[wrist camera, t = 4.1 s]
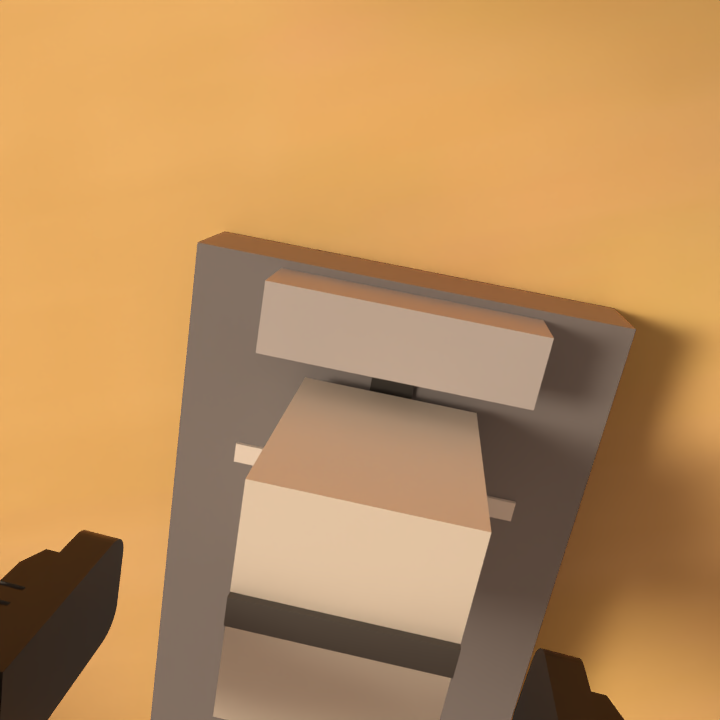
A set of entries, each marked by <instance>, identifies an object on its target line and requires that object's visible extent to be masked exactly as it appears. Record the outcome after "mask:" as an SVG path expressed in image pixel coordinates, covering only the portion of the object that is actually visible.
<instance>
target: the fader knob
mask: <svg viewBox="0 0 720 720" xmlns="http://www.w3.org/2000/svg"><path fill="white" fill-rule="evenodd" d="M490 536H491V525H490V517H489V509H488V501H487V493H486V485H485V477H484V469H483V461H482V453H481V445H480V437H479V429H478V421H477V413H474V412H469V411H465V410H460V409H455V408H450V407H445V406H441V405H436V404H431V403H426V402H421V401H417V400H412V399H407V398H402V397H397V396H392V395H388V394H383V393H378V392H373V391H368V390H364V389H359V388H354V387H349V386H344V385H340V384H335V383H330V382H325V381H320V380H316V379H311V378H306V377H305V379H304V380H303V382H302V384H301V385H300V387H299V389H298V390H297V392H296V394H295V396H294V397H293V399H292V401H291V402H290V404H289V406H288V407H287V409H286V411H285V413H284V414H283V416H282V418H281V419H280V421H279V423H278V424H277V426H276V428H275V429H274V431H273V433H272V435H271V436H270V438H269V440H268V441H267V443H266V445H265V446H264V448H263V450H262V452H261V453H260V455H259V457H258V458H257V460H256V462H255V463H254V465H253V467H252V469H251V470H250V472H249V474H248V475H247V477H246V479H245V485H244V493H243V500H242V507H241V515H240V522H239V529H238V537H237V544H236V551H235V559H234V566H233V573H232V580H231V588H230V593H229V595H228V597H227V603H226V611H225V618H224V626H225V632H224V639H223V646H222V654H221V661H220V668H219V676H218V683H217V690H216V698H215V705H214V712H213V717H217V718H221V719H225V720H440V716H441V713H442V709H443V706H444V702H445V698H446V695H447V691H448V688H449V684H450V680H451V678H452V679H453V677H454V673H455V669H456V666H457V662H458V659H459V655H460V651H461V641H462V637H463V633H464V630H465V626H466V623H467V619H468V615H469V612H470V608H471V604H472V601H473V597H474V594H475V590H476V586H477V583H478V579H479V576H480V572H481V568H482V565H483V561H484V558H485V554H486V550H487V547H488V543H489V539H490Z"/></svg>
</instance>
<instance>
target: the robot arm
mask: <svg viewBox="0 0 720 720" xmlns="http://www.w3.org/2000/svg"><path fill="white" fill-rule="evenodd" d="M122 557H123V542H122V540H121V539H117V538H113V537H110V536H106V535H102V534H98V533H94V532H90V531H86V530H83V531H81V532H79V533H78V534H77V535H76V536H75V537H74V538H73V539H72V540H71V541H70V542H69V543H68V544H67V545H66V546H65V547H64V548H63V549H62V550H61V551H60V552H55V551H51V550H47V549H46V550H44V551H42V552H40V553H38V554H35V555H33V556H31V557H29V558H27V559H25V560H23V561H21V562H19V563H18V564H17V565H16V566H15V567H14V568H13V569H12V570H11V571H10V572H9V573H8V574H7V575H5V576H4V577H3V578H2V579H1V580H0V720H48V718H49V717H50V716H51V714H52V713H53V711H54V710H55V709H56V707H57V706H58V704H59V703H60V701H61V700H62V699H63V697H64V696H65V694H66V693H67V691H68V690H69V689H70V687H71V686H72V684H73V683H74V682H75V680H76V679H77V677H78V676H79V674H80V673H81V672H82V670H83V669H84V667H85V666H86V665H87V663H88V662H89V660H90V659H91V657H92V656H93V655H94V653H95V652H96V650H97V649H98V647H99V646H100V645H101V643H102V642H103V640H104V639H105V637H106V635H107V633H108V631H109V629H110V627H111V624H112V621H113V618H114V615H115V611H116V607H117V599H118V591H119V582H120V574H121V565H122ZM512 720H624V719H623V717H622V716H621V715H620V713H619V712H618V711H617V709H616V708H615V706H614V705H613V704H612V702H611V701H610V700H609V698H608V697H607V696H606V695H602V694H598V693H595V692H591V690H590V686H589V682H588V679H587V675H586V671H585V668H584V665H583V662H582V660H581V659H580V658H576V657H572V656H568V655H565V654H561V653H557V652H553V651H549V650H545V649H541V648H540V649H538V650H537V651H536V653H535V655H534V658H533V660H532V663H531V666H530V669H529V672H528V674H527V677H526V680H525V683H524V686H523V689H522V691H521V694H520V697H519V700H518V703H517V705H516V708H515V711H514V715H513V719H512Z"/></svg>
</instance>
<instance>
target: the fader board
mask: <svg viewBox="0 0 720 720" xmlns="http://www.w3.org/2000/svg"><path fill="white" fill-rule="evenodd" d="M635 331H636V329H635V328H634V327H633V326H632V325H631V324H630V323H629V322H628V321H627V320H626V319H625V318H624V317H623V316H622V315H621V314H620V313H619V312H617V311H616V310H615V309H614V308H609V307H604V306H599V305H594V304H589V303H584V302H579V301H574V300H569V299H564V298H559V297H554V296H548V295H543V294H538V293H533V292H528V291H523V290H518V289H513V288H508V287H503V286H498V285H493V284H488V283H483V282H477V281H472V280H467V279H462V278H457V277H452V276H447V275H442V274H437V273H432V272H427V271H422V270H417V269H412V268H406V267H401V266H396V265H391V264H386V263H381V262H376V261H371V260H366V259H361V258H356V257H351V256H346V255H341V254H335V253H330V252H325V251H320V250H315V249H310V248H305V247H300V246H295V245H290V244H285V243H280V242H275V241H270V240H264V239H259V238H254V237H249V236H244V235H239V234H234V233H229V232H222V233H220V234H217V235H215V236H212V237H210V238H207V239H205V240H202V241H200V242H198V244H197V254H196V264H195V275H194V285H193V295H192V305H191V315H190V325H189V336H188V346H187V356H186V366H185V376H184V386H183V397H182V407H181V417H180V427H179V437H178V447H177V458H176V468H175V478H174V488H173V498H172V508H171V519H170V529H169V539H168V549H167V559H166V569H165V580H164V590H163V600H162V610H161V620H160V630H159V641H158V651H157V661H156V671H155V681H154V691H153V702H152V712H151V720H225V719H221V718H217V717H213V712H214V705H215V698H216V690H217V683H218V676H219V668H220V661H221V654H222V646H223V639H224V632H225V626H224V618H225V611H226V603H227V597H228V595H229V593H230V588H231V580H232V573H233V566H234V559H235V551H236V544H237V537H238V529H239V522H240V515H241V507H242V500H243V493H244V485H245V479H246V477H247V475H248V474H249V472H250V470H251V469H252V467H253V465H254V463H255V462H256V460H257V458H258V457H259V455H260V453H261V452H262V450H263V448H264V446H265V445H266V443H267V441H268V440H269V438H270V436H271V435H272V433H273V431H274V429H275V428H276V426H277V424H278V423H279V421H280V419H281V418H282V416H283V414H284V413H285V411H286V409H287V407H288V406H289V404H290V402H291V401H292V399H293V397H294V396H295V394H296V392H297V390H298V389H299V387H300V385H301V384H302V382H303V380H304V379H305V377H306V378H311V379H316V380H320V381H325V382H330V383H335V384H340V385H344V386H349V387H354V388H359V389H364V390H368V391H373V392H378V393H383V394H388V395H392V396H397V397H402V398H407V399H412V400H417V401H421V402H426V403H431V404H436V405H441V406H445V407H450V408H455V409H460V410H465V411H469V412H474V413H477V421H478V429H479V437H480V445H481V453H482V461H483V469H484V477H485V485H486V493H487V501H488V509H489V517H490V525H491V536H490V539H489V543H488V547H487V550H486V554H485V558H484V561H483V565H482V568H481V572H480V576H479V579H478V583H477V586H476V590H475V594H474V597H473V601H472V604H471V608H470V612H469V615H468V619H467V623H466V626H465V630H464V633H463V637H462V641H461V651H460V655H459V659H458V662H457V666H456V669H455V673H454V677H453V679H452V678H451V680H450V684H449V688H448V691H447V695H446V698H445V702H444V706H443V709H442V713H441V716H440V720H511V718H512V715H513V712H514V708H515V705H516V702H517V699H518V696H519V693H520V690H521V687H522V684H523V680H524V677H525V674H526V671H527V668H528V665H529V662H530V659H531V655H532V652H533V649H534V646H535V643H536V640H537V637H538V634H539V631H540V627H541V624H542V621H543V618H544V615H545V612H546V609H547V606H548V602H549V599H550V596H551V593H552V590H553V587H554V584H555V581H556V578H557V574H558V571H559V568H560V565H561V562H562V559H563V556H564V553H565V549H566V546H567V543H568V540H569V537H570V534H571V531H572V528H573V525H574V521H575V518H576V515H577V512H578V509H579V506H580V503H581V500H582V497H583V493H584V490H585V487H586V484H587V481H588V478H589V475H590V472H591V468H592V465H593V462H594V459H595V456H596V453H597V450H598V447H599V444H600V440H601V437H602V434H603V431H604V428H605V425H606V422H607V419H608V415H609V412H610V409H611V406H612V403H613V400H614V397H615V394H616V391H617V387H618V384H619V381H620V378H621V375H622V372H623V369H624V366H625V362H626V359H627V356H628V353H629V350H630V347H631V344H632V341H633V338H634V334H635Z"/></svg>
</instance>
